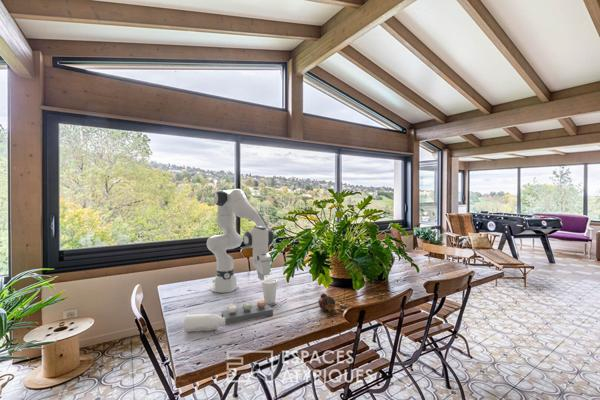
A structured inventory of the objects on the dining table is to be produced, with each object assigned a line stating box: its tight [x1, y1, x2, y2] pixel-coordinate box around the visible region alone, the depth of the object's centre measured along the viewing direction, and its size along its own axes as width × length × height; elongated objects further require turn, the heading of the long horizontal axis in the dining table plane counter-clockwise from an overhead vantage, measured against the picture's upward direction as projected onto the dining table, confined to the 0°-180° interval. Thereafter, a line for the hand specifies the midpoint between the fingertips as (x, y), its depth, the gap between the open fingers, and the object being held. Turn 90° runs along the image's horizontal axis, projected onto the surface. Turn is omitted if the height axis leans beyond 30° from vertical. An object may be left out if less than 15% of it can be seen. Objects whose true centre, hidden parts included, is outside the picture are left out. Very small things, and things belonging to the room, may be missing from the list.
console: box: [221, 303, 274, 326], centre depth 156 cm, size 10×26×3 cm, turn 116°
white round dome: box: [227, 305, 238, 315], centre depth 152 cm, size 5×5×5 cm
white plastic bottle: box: [183, 313, 226, 333], centre depth 140 cm, size 8×19×8 cm, turn 95°
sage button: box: [242, 302, 253, 312], centre depth 156 cm, size 5×5×5 cm
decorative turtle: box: [318, 292, 336, 313], centre depth 163 cm, size 10×15×8 cm, turn 21°
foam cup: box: [261, 278, 278, 305], centre depth 176 cm, size 10×9×13 cm
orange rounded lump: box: [256, 300, 266, 309], centre depth 159 cm, size 5×5×5 cm
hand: (260, 279), depth 159 cm, fingers open, 2 cm apart
